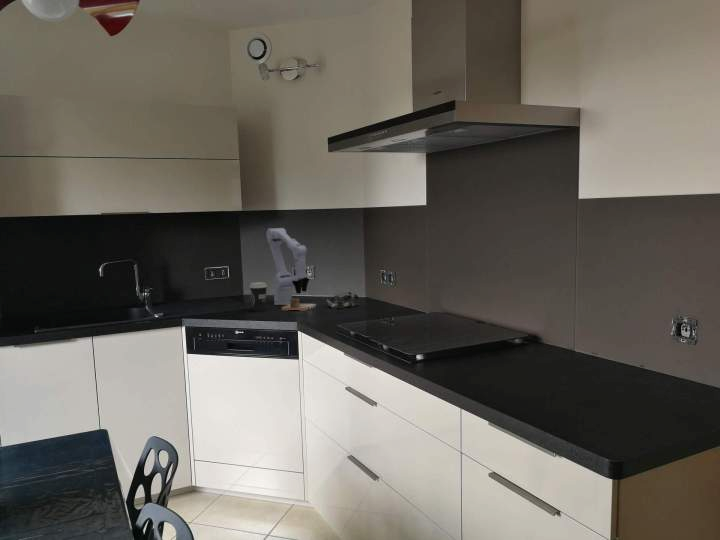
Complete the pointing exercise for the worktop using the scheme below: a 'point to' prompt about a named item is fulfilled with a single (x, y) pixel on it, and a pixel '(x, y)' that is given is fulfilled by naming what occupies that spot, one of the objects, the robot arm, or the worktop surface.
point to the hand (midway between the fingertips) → (301, 292)
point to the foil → (343, 300)
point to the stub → (295, 305)
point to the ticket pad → (307, 305)
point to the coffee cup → (258, 296)
